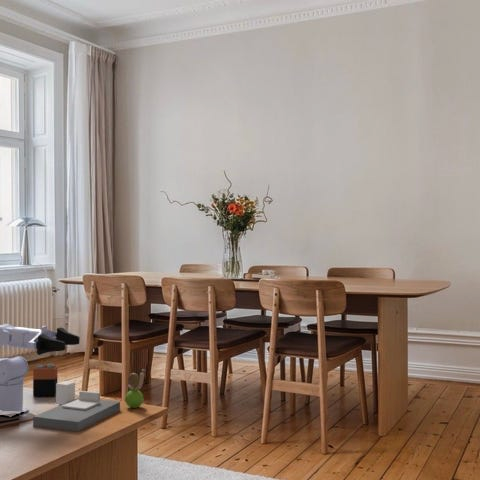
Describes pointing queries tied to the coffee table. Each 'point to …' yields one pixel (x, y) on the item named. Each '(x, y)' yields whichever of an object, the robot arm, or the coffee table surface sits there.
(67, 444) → the coffee table surface
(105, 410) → the socket plate
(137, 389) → the snail figurine
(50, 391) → the battery
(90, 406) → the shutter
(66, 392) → the plug
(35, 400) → the coffee table surface
